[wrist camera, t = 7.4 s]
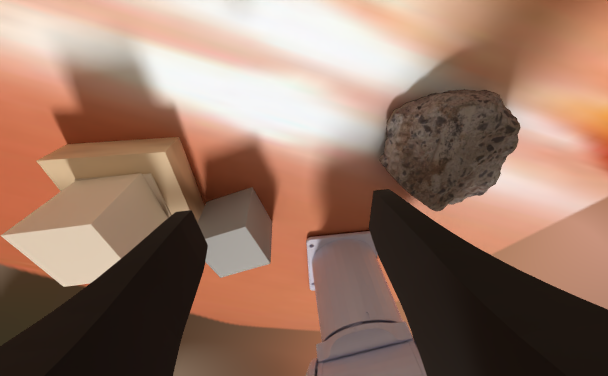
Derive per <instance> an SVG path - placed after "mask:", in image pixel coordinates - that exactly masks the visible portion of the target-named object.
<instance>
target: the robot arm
mask: <svg viewBox="0 0 608 376" xmlns="http://www.w3.org/2000/svg"><path fill="white" fill-rule="evenodd" d="M369 230H370V231H366V232H356V233H346V234H336V235H326V236H316V237H309V238H307V240H306V243H307V257H308V271H309V285H310V290H315V293H316V300H317V308H318V315H319V323H320V330H321V338H322V343H319V344H317V345H316V348H317V357H318V358H314V359H312V361H311V362H310V365H309V368H308V370H307V373H306V376H608V310H607V309H605V308H603V307H600V306H598V305H595V304H593V303H591V302H588V301H586V300H583V299H581V298H579V297H576V296H574V295H572V294H570V293H568V292H565V291H563V290H561V289H558V288H556V287H554V286H552V285H550V284H548V283H545V282H543V281H541V280H539V279H537V278H535V277H533V276H531V275H529V274H526V273H524V272H522V271H520V270H518V269H516V268H514V267H512V266H510V265H508V264H506V263H504V262H503V261H501V260H499V259H497V258H495V257H493V256H491V255H490V254H488V253H486V252H484V251H482V250H480V249H479V248H477V247H475V246H473V245H472V244H470V243H468V242H466V241H465V240H463V239H462V238H460V237H458V236H457V235H455V234H454V233H452V232H450V231H449V230H447V229H446V228H444V227H443V226H441V225H439V224H438V223H436V222H435V221H433V220H432V219H430V218H429V217H428V216H426V215H425V214H423V213H422V212H420V211H419V210H418V209H416V208H415V207H413V206H412V205H411V204H409V203H408V202H406V201H405V200H404V199H402V198H401V197H399V196H398V195H397V194H395V193H394V192H392V191H391V190H389V189H386V190H376V191H374V192H373V200H372V207H371V215H370V222H369ZM311 244H312V245H311ZM207 249H208V244H207V242H206V240H205V238H204V236H203V234H202V231H201V229H200V227H199V225H198V223H197V221H196V218H195V216H194V214H193V212H192V210H188V211H179V212H175V213H174V214H172V215H171V216H170V217H169V218H168V219H166V220H165V221H164V222H163V223H162V224H161V225H159V226H158V227H157V228H156V229H155V230H154V231H153V232H151V233H150V234H149V235H148V236H147V237H146V238H145V239H143V240H142V241H141V242H140V243H139V244H138V245H136V246H135V247H134V248H133V249H132V250H131V251H130V252H128V253H127V254H126V255H125V256H124V257H122V258H121V259H120V260H119V261H118V262H116V263H115V264H114V265H113V266H111V267H110V268H109V269H108V270H107V271H105V272H104V273H103V274H102V275H100V276H99V277H98V278H97V279H96V280H94V281H93V282H92V283H90V284H89V285H88V286H87V287H85V288H84V289H83V290H81V291H80V292H79V293H77V294H76V295H75V296H73V297H72V298H71V299H69V300H68V301H66V302H65V303H64V304H62V305H61V306H60V307H58V308H57V309H55V310H54V311H53V312H51V313H50V314H48V315H47V316H45V317H44V318H42V319H41V320H40V321H38V322H37V323H35V324H33V325H32V326H31V327H29V328H28V329H26V330H24V331H23V332H21V333H20V334H18V335H17V336H15V337H14V338H12V339H11V340H9V341H8V342H6V343H5V344H3V345H2V346H0V376H173V372H174V367H175V364H176V359H177V355H178V350H179V346H180V342H181V338H182V335H183V331H184V328H185V325H186V322H187V319H188V316H189V313H190V310H191V307H192V304H193V301H194V298H195V295H196V292H197V289H198V286H199V283H200V280H201V276H202V273H203V270H204V265H205V260H206V255H207ZM377 255H378V256H379V258H380V260H381V262H382V264H383V266H384V269H385V271H386V273H387V275H388V277H389V279H390V281H391V283H392V286H393V288H394V290H395V292H396V294H397V296H398V298H399V301H400V303H401V305H402V307H403V310H404V312H405V315H406V317H407V320H408V323H409V326H410V328H411V331H412V335H413V338H412V335H411V333H410V331H409V328H408V326H407V324H406V322H405V321H403V320H402V318H401V315H400V313H399V311H398V308H397V306H396V304H395V301H394V299H393V296H392V294H391V292H390V289H389V287H388V284H387V282H386V280H385V277H384V275H383V272H382V270H381V268H380V265H379V263H378V260H377ZM413 339H414V340H413Z"/></svg>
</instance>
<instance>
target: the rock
mask: <svg viewBox="0 0 608 376" xmlns="http://www.w3.org/2000/svg"><path fill="white" fill-rule="evenodd" d="M386 129H387V137H388V138H387V140H386V141H385V150H384V154H383V155H381V157H380V162H381V163H382V164H383V166H384V167H385V168H386V170H387V171H388V172H389V173H390V175H391V176H392V177H393V178H394V179H395V180H396V181H397V182H398V183H399V184H400V185H401V186H402V187H403V188H404V189H405V190H406V191H408V192H409V193H410V194H411V195H412V196H413V197H415V198H416V199H418V200H419V201H421V202H422V203H423V204H424V205H426V206H427V207H429V208H430V209H432V210H434V211H441V210H443V209H444V208H445V207H446V206H447V205H448V204H455V203H459V202H462V201H463V200H464V199H465V198H467V197H471V196H475V195H478V196H479V195H483V194H484V193H485V192H486V191H487V190H488V189H489V188H490V187H491V186H493V185H495V184H496V182H497V180H498V178H499V176H500V174H501V173H500V170H501V167H502V164H503V163H504V162H505V160H506V157H507V156H508V155H509V154H511V153H512V152H513V151H514V150H515V149H516V147H517V143H518V135H517V134H518V132H519V130H520V124H519V122H518V121H517V118H516V117H515V116H513V115H512V114H511V111H510V110H508V109H507V108H506V107H505V106H504V105H503V102H502V99H500V95H498V94H496V93H494V92H490V91H487V90H484V91H470V90H457V91H448V92H444V93H442V94H440V93H434V94H430V95H428V96H427V97H422V98H420V99H418V100H416V101H412V102H408V103H406V104H404V105H403V106H402V107H400V108H397V109H395V110H394V111H393V113H392V115H391V117H390V119H389V120H388V122H387V126H386Z"/></svg>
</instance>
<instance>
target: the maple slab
mask: <svg viewBox="0 0 608 376" xmlns="http://www.w3.org/2000/svg"><path fill="white" fill-rule="evenodd" d="M37 162H38V163H39V165H40V166H41V167H42V168H43V170H44V171H45V172H46V173H47V175H48V176H49V177H50V179H51V180H52V181H53V182H54V184H55V185H56V186H57V187H58V189H59V190H60V191H62V190H64V189H65V188H67V187H68V186H69V185H71V184H72V183H73V182H75V181H81V180H89V179H97V178H105V177H113V176H121V175H129V174H137V173H142V175H143V177H144V179H145V180H146V182H147V184H148V185H149V187H150V189H151V190H152V192H153V194H154V195H155V197H156V199H157V200H158V202H159V204H160V205H161V207H162V209H163V210H164V212H165V214H166V216H167V217H168V218H169V217H170V216H171V215H172V214H174V213H175V212H179V211H188V210H192V212H193V214H194V216H195V218H196V221H197V223H198V221H199V219H200V216H201V214H202V212H203V209H204V207H205V205H204V203H203V200H202V197H201V195H200V192H199V189H198V186H197V184H196V181H195V178H194V176H193V173H192V170H191V168H190V165H189V162H188V159H187V157H186V154H185V151H184V149H183V146H182V143H181V140H180V138H179V137H168V138H153V139H138V140H123V141H107V142H92V143H77V144H67V145H65V146H63V147H61V148H59V149H57V150H55V151H54V152H52V153H50V154H48V155H46V156H44V157H43V158H41V159H39V160H37Z"/></svg>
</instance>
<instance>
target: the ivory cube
mask: <svg viewBox="0 0 608 376" xmlns="http://www.w3.org/2000/svg"><path fill="white" fill-rule="evenodd" d="M166 219H168V217H167V216H166V214H165V212H164V210H163V209H162V207H161V205H160V204H159V202H158V200H157V199H156V197H155V195H154V194H153V192H152V190H151V189H150V187H149V185H148V184H147V182H146V180H145V179H144V177H143V175H142V173H137V174H129V175H121V176H113V177H105V178H97V179H89V180H81V181H75V182H73V183H72V184H71V185H69V186H68V187H67V188H65V189H64V190H62V191H61V192H60V193H58V194H57V195H56V196H54V197H53V198H51V199H50V200H49V201H47V202H46V203H45V204H43V205H42V206H41V207H39V208H38V209H36V210H35V211H34V212H32V213H31V214H30V215H28V216H27V217H26V218H24V219H23V220H21V221H20V222H19V223H17V224H16V225H15V226H13V227H12V228H10V229H9V230H8V231H6V232H5V233H4V234H2V235H1V236H2V237H3V238H4V239H5V240H7V241H8V242H9V243H10V244H12V245H13V246H14V247H15V248H17V249H18V250H19V251H20V252H22V253H23V254H24V255H25V256H26V257H28V258H29V259H30V260H31V261H33V262H34V263H35V264H36V265H38V266H39V267H40V268H41V269H43V270H44V271H45V272H46V273H47V274H49V275H50V276H51V277H52V278H54V279H55V280H56V281H57V282H59V283H60V284H61V285H62V286H64V287H65V286H73V285H81V284H89V283H92V282H93V281H94V280H96V279H97V278H98V277H99V276H100V275H102V274H103V273H104V272H105V271H107V270H108V269H109V268H110V267H111V266H113V265H114V264H115V263H116V262H118V261H119V260H120V259H121V258H122V257H124V256H125V255H126V254H127V253H128V252H130V251H131V250H132V249H133V248H134V247H135V246H136V245H138V244H139V243H140V242H141V241H142V240H143V239H145V238H146V237H147V236H148V235H149V234H150V233H151V232H153V231H154V230H155V229H156V228H157V227H158V226H159V225H161V224H162V223H163V222H164V221H165V220H166Z"/></svg>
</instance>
